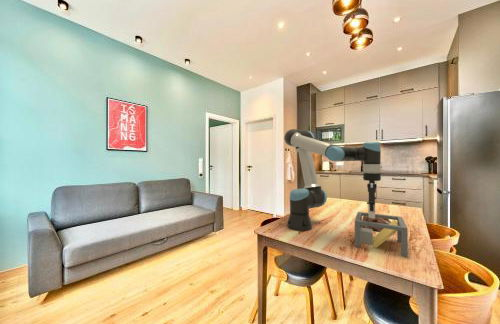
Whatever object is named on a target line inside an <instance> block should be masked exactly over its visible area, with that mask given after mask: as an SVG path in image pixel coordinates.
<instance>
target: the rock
mask: <svg viewBox="0 0 500 324" xmlns="http://www.w3.org/2000/svg"><path fill="white" fill-rule="evenodd" d="M362 221H367V222H375V223H382V224H390V223H391V222H392V221H391V220H390V219H384V218H376V217H375V218H369V217H368V216H362ZM362 227H363V228H368V229H373V230H375V231H377V232H378V233H379V232H380V231H382V230H383V229H384V228H379V227H372V226H365V225H362Z"/></svg>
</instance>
